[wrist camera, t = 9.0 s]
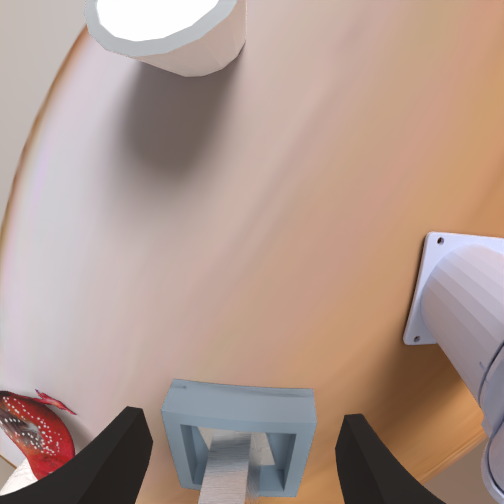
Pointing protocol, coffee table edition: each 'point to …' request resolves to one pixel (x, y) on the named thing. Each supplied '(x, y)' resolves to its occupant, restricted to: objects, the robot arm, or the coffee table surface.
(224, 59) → the off-white tapered cylinder
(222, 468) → the grey t-shaped bar
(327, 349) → the coffee table surface
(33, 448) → the decorative bird figurine
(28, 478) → the white cup
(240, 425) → the slate well
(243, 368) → the coffee table surface
